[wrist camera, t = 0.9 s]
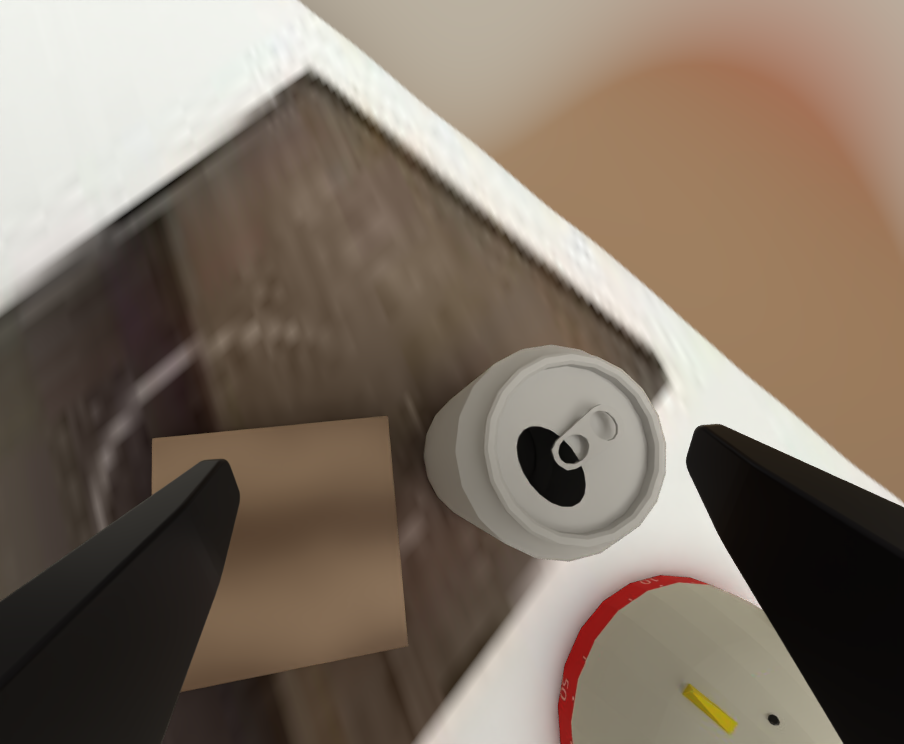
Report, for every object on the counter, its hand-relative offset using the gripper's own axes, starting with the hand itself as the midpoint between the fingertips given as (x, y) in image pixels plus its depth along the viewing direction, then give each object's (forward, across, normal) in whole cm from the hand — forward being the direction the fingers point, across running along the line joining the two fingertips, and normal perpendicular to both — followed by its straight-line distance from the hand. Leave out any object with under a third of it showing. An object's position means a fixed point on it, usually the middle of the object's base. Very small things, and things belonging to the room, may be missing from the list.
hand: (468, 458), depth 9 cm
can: (+13, -2, +11) cm, 17 cm away
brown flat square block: (+10, +8, +13) cm, 18 cm away
